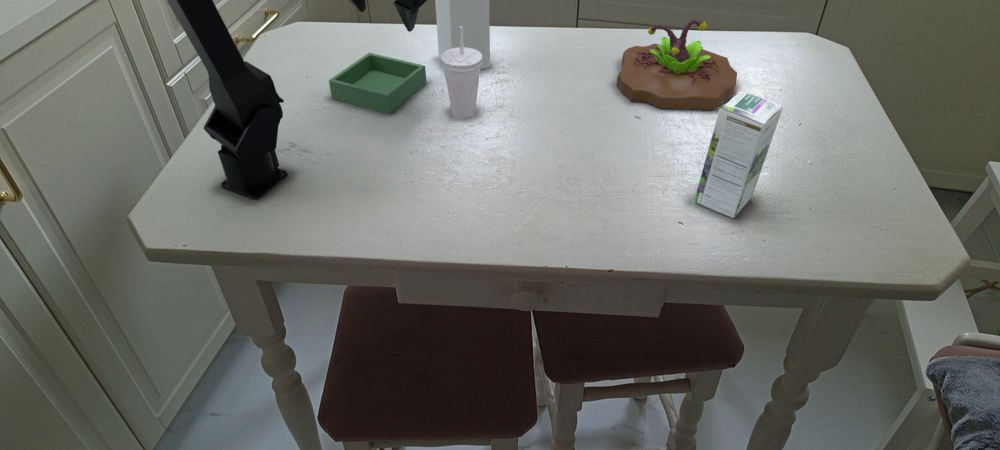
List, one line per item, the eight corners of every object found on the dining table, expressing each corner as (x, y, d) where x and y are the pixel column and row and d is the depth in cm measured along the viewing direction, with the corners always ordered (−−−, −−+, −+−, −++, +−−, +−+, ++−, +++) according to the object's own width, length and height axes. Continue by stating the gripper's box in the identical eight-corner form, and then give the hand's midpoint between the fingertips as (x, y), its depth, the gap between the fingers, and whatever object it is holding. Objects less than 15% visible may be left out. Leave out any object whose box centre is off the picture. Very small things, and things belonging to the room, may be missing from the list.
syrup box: (711, 182, 89) (737, 88, 79) (753, 199, 86) (784, 103, 76) (693, 202, 85) (717, 106, 76) (735, 220, 82) (766, 123, 73)
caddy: (389, 114, 102) (387, 95, 100) (331, 98, 106) (328, 80, 104) (426, 83, 110) (425, 65, 108) (371, 69, 114) (369, 52, 112)
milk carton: (438, 59, 117) (431, -49, 105) (474, 52, 119) (471, -55, 107) (453, 76, 112) (447, -36, 100) (490, 68, 114) (489, -42, 102)
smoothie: (485, 103, 105) (484, 20, 96) (481, 123, 100) (479, 38, 91) (447, 101, 105) (442, 18, 96) (440, 121, 101) (434, 36, 91)
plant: (735, 118, 101) (753, 52, 94) (611, 102, 105) (619, 37, 98) (733, 63, 116) (749, 2, 109) (625, 50, 120) (633, -10, 113)
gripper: (458, -91, 84) (468, 9, 97) (349, -126, 90) (372, -27, 103) (407, -47, 79) (424, 53, 92) (295, -87, 85) (326, 12, 98)
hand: (386, 20), depth 96 cm, fingers open, 9 cm apart
